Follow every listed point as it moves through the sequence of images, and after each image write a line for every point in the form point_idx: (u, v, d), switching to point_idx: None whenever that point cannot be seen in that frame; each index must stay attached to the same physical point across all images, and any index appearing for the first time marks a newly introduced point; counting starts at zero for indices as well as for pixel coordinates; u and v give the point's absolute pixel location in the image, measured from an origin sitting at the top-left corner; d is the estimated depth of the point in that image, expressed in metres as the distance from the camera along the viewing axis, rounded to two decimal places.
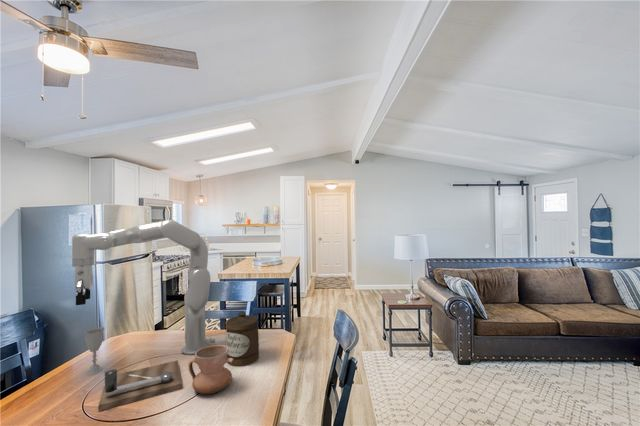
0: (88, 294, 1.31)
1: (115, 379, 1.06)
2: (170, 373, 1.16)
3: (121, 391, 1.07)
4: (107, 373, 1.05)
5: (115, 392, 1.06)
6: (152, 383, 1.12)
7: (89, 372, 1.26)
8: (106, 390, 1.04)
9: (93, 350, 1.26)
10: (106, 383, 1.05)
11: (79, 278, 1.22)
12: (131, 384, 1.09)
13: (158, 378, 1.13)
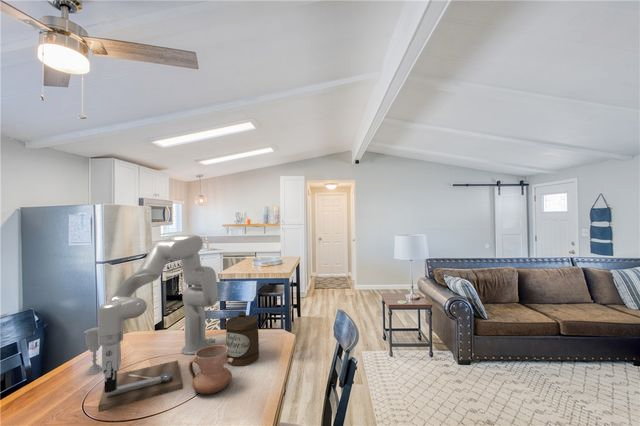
0: None
1: None
2: (170, 373, 1.16)
3: (121, 391, 1.07)
4: None
5: (115, 392, 1.06)
6: (152, 383, 1.12)
7: (89, 372, 1.26)
8: None
9: (93, 350, 1.26)
10: None
11: (107, 359, 1.02)
12: (131, 384, 1.09)
13: (158, 378, 1.13)
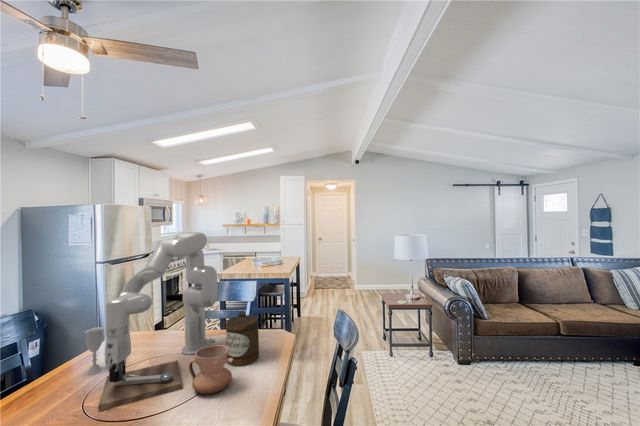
0: (123, 370, 1.15)
1: (120, 371, 1.12)
2: (170, 374, 1.15)
3: (125, 383, 1.12)
4: None
5: (119, 383, 1.12)
6: (152, 381, 1.13)
7: (89, 372, 1.26)
8: None
9: (93, 350, 1.26)
10: None
11: (108, 352, 1.08)
12: (135, 378, 1.14)
13: (158, 377, 1.14)
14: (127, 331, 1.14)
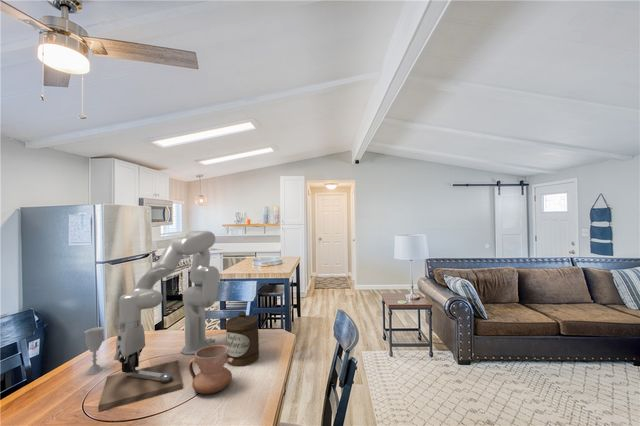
0: (136, 362, 1.21)
1: (131, 363, 1.19)
2: (169, 374, 1.15)
3: (134, 375, 1.18)
4: None
5: (130, 374, 1.18)
6: (154, 378, 1.15)
7: (89, 372, 1.26)
8: None
9: (93, 350, 1.26)
10: None
11: (118, 344, 1.15)
12: (143, 372, 1.18)
13: (159, 375, 1.15)
14: (137, 326, 1.19)
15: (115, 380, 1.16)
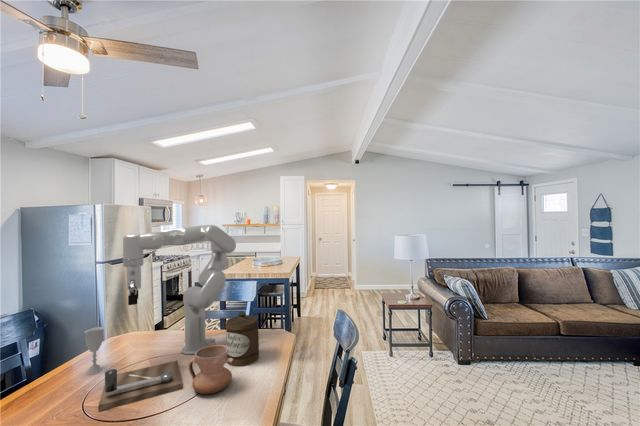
0: (136, 294, 1.32)
1: (115, 379, 1.06)
2: (170, 373, 1.16)
3: (121, 391, 1.07)
4: (107, 373, 1.05)
5: (115, 392, 1.06)
6: (152, 383, 1.12)
7: (89, 372, 1.26)
8: (106, 390, 1.05)
9: (93, 350, 1.26)
10: (106, 383, 1.05)
11: (131, 278, 1.23)
12: (131, 384, 1.10)
13: (158, 378, 1.13)
14: None
15: None
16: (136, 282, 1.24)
